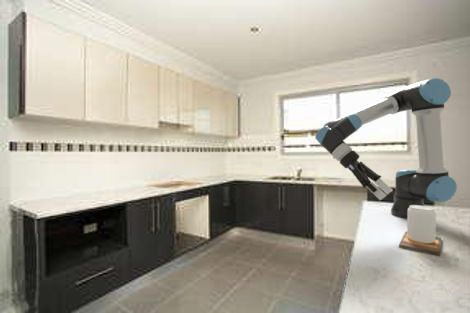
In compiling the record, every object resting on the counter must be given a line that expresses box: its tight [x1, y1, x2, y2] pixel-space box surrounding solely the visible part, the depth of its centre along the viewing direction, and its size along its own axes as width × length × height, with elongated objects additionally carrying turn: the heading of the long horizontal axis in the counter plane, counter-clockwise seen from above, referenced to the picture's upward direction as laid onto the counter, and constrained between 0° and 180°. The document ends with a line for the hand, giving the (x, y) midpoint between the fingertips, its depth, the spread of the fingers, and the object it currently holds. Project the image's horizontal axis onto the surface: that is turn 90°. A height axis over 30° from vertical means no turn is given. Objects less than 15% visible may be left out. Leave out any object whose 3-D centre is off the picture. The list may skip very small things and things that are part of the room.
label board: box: [398, 230, 442, 257], centre depth 90 cm, size 18×11×1 cm, turn 139°
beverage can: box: [406, 205, 437, 244], centre depth 90 cm, size 8×8×12 cm
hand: (387, 195), depth 96 cm, fingers open, 13 cm apart
